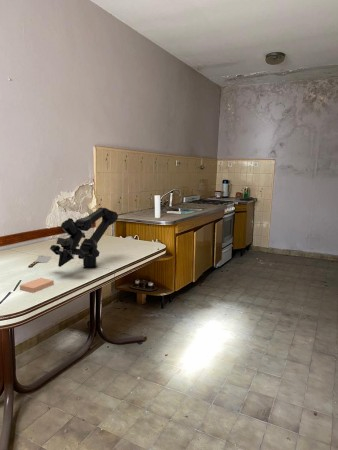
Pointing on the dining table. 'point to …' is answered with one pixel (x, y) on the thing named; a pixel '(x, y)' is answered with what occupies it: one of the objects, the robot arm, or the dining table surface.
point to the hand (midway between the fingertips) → (59, 266)
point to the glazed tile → (36, 285)
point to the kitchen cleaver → (40, 260)
